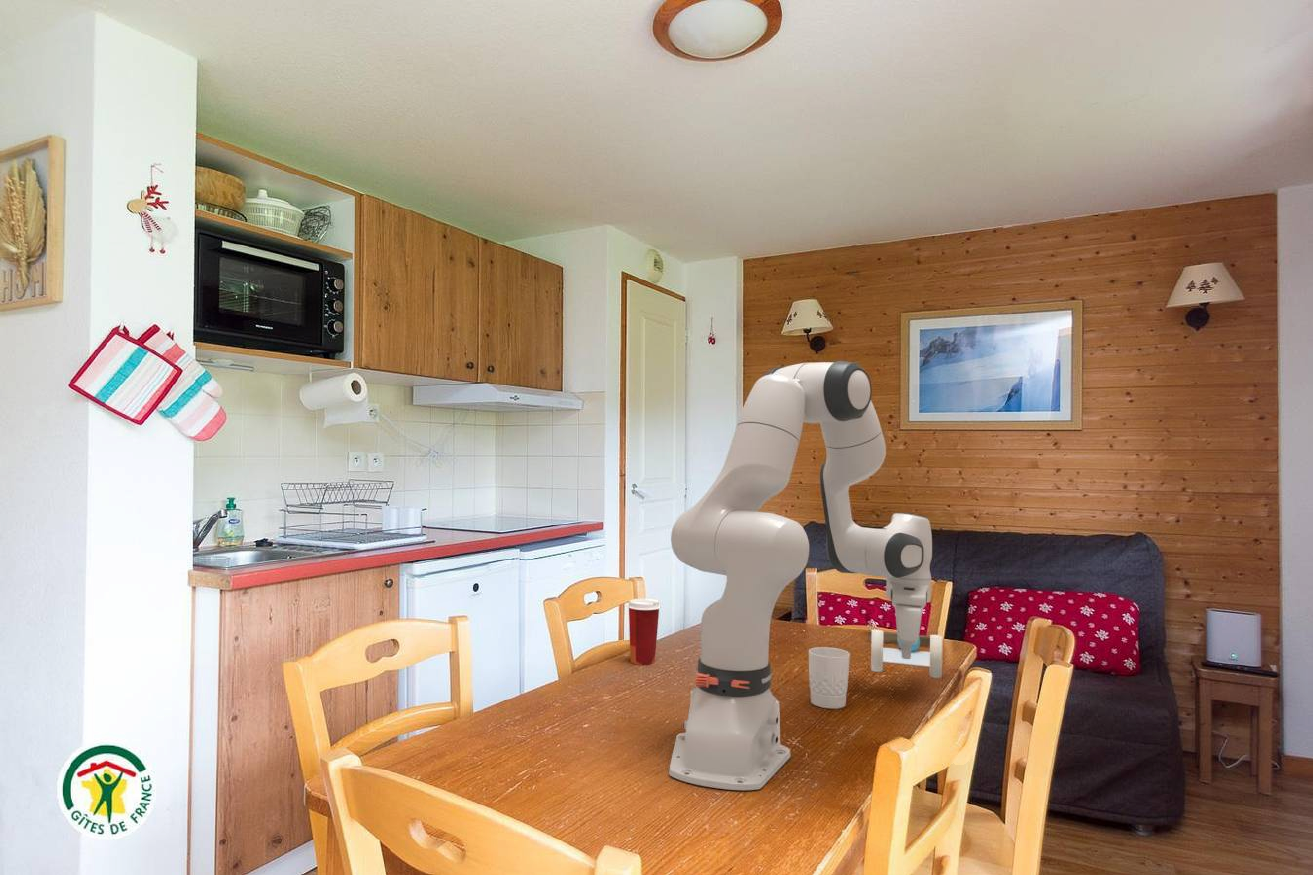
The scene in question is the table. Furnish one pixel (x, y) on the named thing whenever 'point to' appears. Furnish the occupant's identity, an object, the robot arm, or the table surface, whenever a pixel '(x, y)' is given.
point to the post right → (935, 656)
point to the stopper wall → (892, 637)
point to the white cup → (828, 676)
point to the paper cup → (643, 630)
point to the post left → (877, 650)
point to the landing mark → (916, 659)
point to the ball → (914, 647)
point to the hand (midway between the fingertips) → (905, 657)
